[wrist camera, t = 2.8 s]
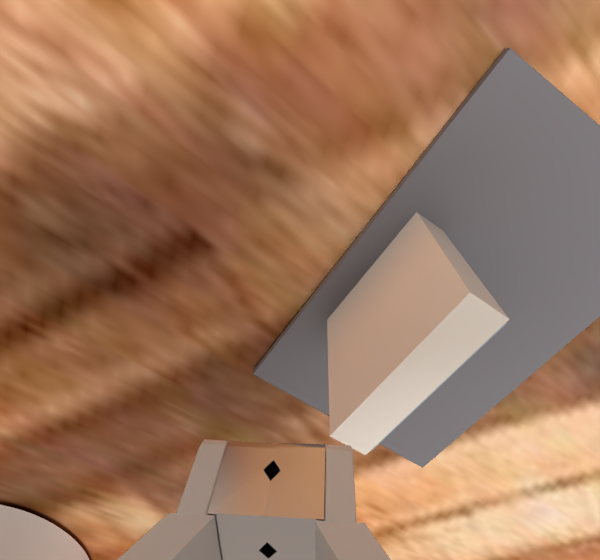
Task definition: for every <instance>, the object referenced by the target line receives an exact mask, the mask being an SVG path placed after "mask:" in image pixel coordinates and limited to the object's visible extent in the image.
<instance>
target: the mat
mask: <svg viewBox="0 0 600 560" xmlns="http://www.w3.org/2000/svg"><path fill="white" fill-rule="evenodd" d="M416 212H417V213H419V214H420V215H422V216H423V217H425V218H426V219H427V220H429V221H430V222H432V223H433V224H434V225H436V226H437V227H439V228H440V229H441V230H443V231H444V233H445V234H446V235H447V237H448V238H449V239H450V241H451V242H452V243H453V245H454V246H455V247H456V249H457V250H458V251H459V253H460V254H461V255H462V257H463V258H464V259H465V261H466V262H467V263H468V265H469V266H470V267H471V269H472V270H473V271H474V273H475V274H476V275H477V277H478V278H479V279H480V281H481V282H482V283H483V285H484V286H485V287H486V289H487V290H488V291H489V293H490V294H491V295H492V297H493V298H494V299H495V301H496V302H497V303H498V305H499V306H500V307H501V309H502V310H503V311H504V313H505V314H506V315H507V317H508V318H509V320H508V321H507V324H506V325H505V326H504V327H503V328H502V329H500V330H499V331H498V332H497V333H496V334H495V335H494V336H493V337H492V338H491V339H490V340H489V341H488V342H487V343H486V344H485V345H483V346H482V347H481V348H480V349H479V350H478V351H477V352H476V353H475V354H474V355H473V356H472V357H471V358H470V359H469V360H468V361H466V362H465V363H464V364H463V365H462V366H461V367H460V368H459V369H458V370H457V371H456V372H455V373H454V374H453V375H452V376H451V377H449V378H448V379H447V380H446V381H445V382H444V383H443V384H442V385H441V386H440V387H439V388H438V389H437V390H436V391H435V392H434V393H433V394H431V395H430V396H429V397H428V398H427V399H426V400H425V401H424V402H423V403H422V404H421V405H420V406H419V407H418V408H417V409H416V410H414V411H413V412H412V413H411V414H410V415H409V416H408V417H407V418H406V419H405V420H404V421H403V422H402V423H401V424H400V425H399V426H397V427H396V428H395V429H394V430H393V431H392V432H391V433H390V434H389V435H388V436H387V437H386V438H385V439H384V440H383V441H382V442H380V443H379V444H381V445H383V446H384V447H386V448H388V449H390V450H392V451H393V452H395V453H397V454H399V455H401V456H403V457H404V458H406V459H408V460H410V461H412V462H413V463H415V464H417V465H419V466H421V467H422V468H423V467H424V466H425V465H426V464H427V463H429V462H430V461H431V460H432V459H433V458H434V457H436V456H437V455H438V454H439V453H440V452H441V451H443V450H444V449H445V448H446V447H447V446H448V445H450V444H451V443H452V442H453V441H454V440H455V439H457V438H458V437H459V436H460V435H461V434H463V433H464V432H465V431H466V430H467V429H468V428H470V427H471V426H472V425H473V424H474V423H475V422H477V421H478V420H479V419H480V418H481V417H482V416H484V415H485V414H486V413H487V412H488V411H489V410H491V409H492V408H493V407H494V406H495V405H496V404H498V403H499V402H500V401H501V400H502V399H503V398H505V397H506V396H507V395H508V394H509V393H510V392H512V391H513V390H514V389H515V388H516V387H517V386H519V385H520V384H521V383H522V382H523V381H525V380H526V379H527V378H528V377H529V376H530V375H532V374H533V373H534V372H535V371H536V370H537V369H539V368H540V367H541V366H542V365H543V364H544V363H546V362H547V361H548V360H549V359H550V358H551V357H553V356H554V355H555V354H556V353H557V352H558V351H560V350H561V349H562V348H563V347H564V346H565V345H567V344H568V343H569V342H570V341H571V340H572V339H574V338H575V337H576V336H577V335H578V334H579V333H581V332H582V331H583V330H584V329H585V328H587V327H588V326H589V325H590V324H591V323H592V322H594V321H595V320H596V319H597V318H598V317H599V316H600V125H598V124H597V123H596V122H595V121H594V120H593V119H591V118H590V117H589V116H588V115H587V114H586V113H585V112H583V111H582V110H581V109H580V108H579V107H578V106H576V105H575V104H574V103H573V102H572V101H571V100H569V99H568V98H567V97H566V96H565V95H564V94H563V93H561V92H560V91H559V90H558V89H557V88H556V87H554V86H553V85H552V84H551V83H550V82H549V81H547V80H546V79H545V78H544V77H543V76H542V75H541V74H539V73H538V72H537V71H536V70H535V69H534V68H532V67H531V66H530V65H529V64H528V63H527V62H526V61H524V60H523V59H522V58H521V57H520V56H519V55H517V54H516V53H515V52H514V51H513V50H512V49H510V48H507V49H504V51H503V52H502V53H501V54H500V56H499V57H498V58H497V60H496V61H495V62H494V63H493V65H492V66H491V67H490V68H489V70H488V71H487V72H486V74H485V75H484V76H483V77H482V79H481V80H480V81H479V82H478V84H477V85H476V86H475V88H474V89H473V90H472V91H471V93H470V94H469V95H468V97H467V98H466V99H465V100H464V102H463V103H462V104H461V105H460V107H459V108H458V109H457V111H456V112H455V113H454V114H453V116H452V117H451V118H450V119H449V121H448V122H447V123H446V125H445V126H444V127H443V128H442V130H441V131H440V132H439V134H438V135H437V136H436V137H435V139H434V140H433V141H432V142H431V144H430V145H429V146H428V148H427V149H426V150H425V151H424V153H423V154H422V155H421V156H420V158H419V159H418V160H417V162H416V163H415V164H414V165H413V167H412V168H411V169H410V171H409V172H408V173H407V174H406V176H405V177H404V178H403V179H402V181H401V182H400V183H399V185H398V186H397V187H396V188H395V190H394V191H393V192H392V193H391V195H390V196H389V197H388V199H387V200H386V201H385V202H384V204H383V205H382V206H381V208H380V209H379V210H378V211H377V213H376V214H375V215H374V216H373V218H372V219H371V220H370V222H369V223H368V224H367V225H366V227H365V228H364V229H363V230H362V232H361V233H360V234H359V236H358V237H357V238H356V239H355V241H354V242H353V243H352V245H351V246H350V247H349V248H348V250H347V251H346V252H345V253H344V255H343V256H342V257H341V259H340V260H339V261H338V262H337V264H336V265H335V266H334V267H333V269H332V270H331V271H330V273H329V274H328V275H327V276H326V278H325V279H324V280H323V282H322V283H321V284H320V285H319V287H318V288H317V289H316V290H315V292H314V293H313V294H312V296H311V297H310V298H309V299H308V301H307V302H306V303H305V304H304V306H303V307H302V308H301V310H300V311H299V312H298V313H297V315H296V316H295V317H294V319H293V320H292V321H291V322H290V324H289V325H288V326H287V327H286V329H285V330H284V331H283V333H282V334H281V335H280V336H279V338H278V339H277V340H276V341H275V343H274V344H273V345H272V347H271V348H270V349H269V350H268V352H267V353H266V354H265V356H264V357H263V358H262V359H261V361H260V362H259V363H258V364H257V366H256V367H255V368H254V373H253V374H254V375H255V376H257V377H259V378H261V379H263V380H265V381H266V382H268V383H270V384H272V385H274V386H275V387H277V388H279V389H281V390H283V391H285V392H286V393H288V394H290V395H292V396H294V397H295V398H297V399H299V400H301V401H303V402H304V403H306V404H308V405H310V406H312V407H314V408H315V409H317V410H319V411H321V412H323V413H324V414H326V415H328V416H329V380H328V337H327V319H328V318H329V317H330V316H331V315H332V313H333V312H334V311H335V310H336V308H337V307H338V306H339V305H340V304H341V302H342V301H343V300H344V299H345V298H346V296H347V295H348V294H349V293H350V292H351V290H352V289H353V288H354V287H355V286H356V284H357V283H358V282H359V281H360V280H361V278H362V277H363V276H364V275H365V273H366V272H367V271H368V270H369V269H370V267H371V266H372V265H373V264H374V263H375V261H376V260H377V259H378V258H379V257H380V255H381V254H382V253H383V252H384V251H385V249H386V248H387V247H388V246H389V244H390V243H391V242H392V241H393V240H394V238H395V237H396V236H397V235H398V234H399V232H400V231H401V230H402V229H403V228H404V226H405V225H406V224H407V223H408V222H409V220H410V219H411V218H412V217H413V215H414V214H415V213H416Z"/></svg>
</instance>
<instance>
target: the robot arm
mask: <svg viewBox="0 0 600 560" xmlns="http://www.w3.org/2000/svg"><path fill="white" fill-rule="evenodd" d="M325 456H326V465H325ZM0 560H89V558H88V556H87V554H86V553H85V551H84V550H83V548H82V547H81V546H80V545H79V544H78V543H77V542H76V541H75V540H74V539H73V538H72V537H71V536H70V535H69V534H67V533H66V532H65V531H63V530H62V529H61V528H59V527H57V526H56V525H54V524H53V523H51V522H49V521H47V520H45V519H43V518H41V517H39V516H36V515H34V514H31V513H29V512H26V511H23V510H20V509H17V508H13V507H9V506H4V505H0ZM117 560H390V558H389V557H388V555H387V554H386V553H385V551H384V550H383V548H382V547H381V545H380V544H379V543H378V541H377V540H376V538H375V537H374V536H373V534H372V533H371V531H370V530H369V528H368V527H367V526H366V524H365V523H357V521H356V503H355V485H354V467H353V450H352V447H351V446H349V445H326V449H325V444H289V443H277V444H272V443H257V442H242V441H221V440H205V439H204V441H203V442H202V443H201V445H200V446H199V449H198V452H197V455H196V458H195V461H194V463H193V466H192V469H191V472H190V475H189V478H188V480H187V483H186V486H185V489H184V492H183V495H182V498H181V500H180V503H179V506H178V509H177V512H176V513H168V514H167V515H165V516H164V517H163V518H162V519H161V520H160V521H159V522H158V523H157V524H156V525H155V526H153V527H152V528H151V529H150V530H149V531H148V532H147V533H146V534H145V535H144V536H142V537H141V538H140V539H139V540H138V541H137V542H136V543H135V544H134V545H133V546H131V547H130V548H129V549H128V550H127V551H126V552H125V553H124V554H123V555H122V556H121V557H119V558H118V559H117Z"/></svg>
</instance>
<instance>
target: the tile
mask: <svg viewBox="0 0 600 560" xmlns="http://www.w3.org/2000/svg"><path fill="white" fill-rule="evenodd" d="M508 320H509V318H508V317H507V315H506V314H505V313H504V311H503V310H502V309H501V307H500V306H499V305H498V303H497V302H496V301H495V299H494V298H493V297H492V295H491V294H490V293H489V291H488V290H487V289H486V287H485V286H484V285H483V283H482V282H481V281H480V279H479V278H478V277H477V275H476V274H475V273H474V271H473V270H472V269H471V267H470V266H469V265H468V263H467V262H466V261H465V259H464V258H463V257H462V255H461V254H460V253H459V251H458V250H457V249H456V247H455V246H454V245H453V243H452V242H451V241H450V239H449V238H448V237H447V235H446V234H445V233H444V231H443V230H441V229H440V228H439V227H437V226H436V225H434V224H433V223H432V222H430V221H429V220H427V219H426V218H425V217H423V216H422V215H420V214H419V213H417V212H416V213H415V214H414V215H413V217H412V218H411V219H410V220H409V222H408V223H407V224H406V225H405V226H404V228H403V229H402V230H401V231H400V232H399V234H398V235H397V236H396V237H395V238H394V240H393V241H392V242H391V243H390V244H389V246H388V247H387V248H386V249H385V251H384V252H383V253H382V254H381V255H380V257H379V258H378V259H377V260H376V261H375V263H374V264H373V265H372V266H371V267H370V269H369V270H368V271H367V272H366V273H365V275H364V276H363V277H362V278H361V280H360V281H359V282H358V283H357V284H356V286H355V287H354V288H353V289H352V290H351V292H350V293H349V294H348V295H347V296H346V298H345V299H344V300H343V301H342V302H341V304H340V305H339V306H338V307H337V308H336V310H335V311H334V312H333V313H332V315H331V316H330V317H329V318H328V319H327V337H328V380H329V422H330V436H331V437H333V438H334V439H336V440H338V441H340V442H342V443H344V444H346V445H349V446H351V447H352V448H353V449H355V450H357V451H358V452H360V453H362V454H364V455H366V454H367V453H368V452H369V451H370V450H371V451H372V450H373V449H374V448H375V447H376V446H377V445H378V444H379V443H380V442H382V441H383V440H384V439H385V438H386V437H387V436H388V435H389V434H390V433H391V432H392V431H393V430H394V429H395V428H396V427H397V426H399V425H400V424H401V423H402V422H403V421H404V420H405V419H406V418H407V417H408V416H409V415H410V414H411V413H412V412H413V411H414V410H416V409H417V408H418V407H419V406H420V405H421V404H422V403H423V402H424V401H425V400H426V399H427V398H428V397H429V396H430V395H431V394H433V393H434V392H435V391H436V390H437V389H438V388H439V387H440V386H441V385H442V384H443V383H444V382H445V381H446V380H447V379H448V378H449V377H451V376H452V375H453V374H454V373H455V372H456V371H457V370H458V369H459V368H460V367H461V366H462V365H463V364H464V363H465V362H466V361H468V360H469V359H470V358H471V357H472V356H473V355H474V354H475V353H476V352H477V351H478V350H479V349H480V348H481V347H482V346H483V345H485V344H486V343H487V342H488V341H489V340H490V339H491V338H492V337H493V336H494V335H495V334H496V333H497V332H498V331H499V330H500V329H502V328H503V327H504V326H505V325H506V324H507V321H508Z"/></svg>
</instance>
